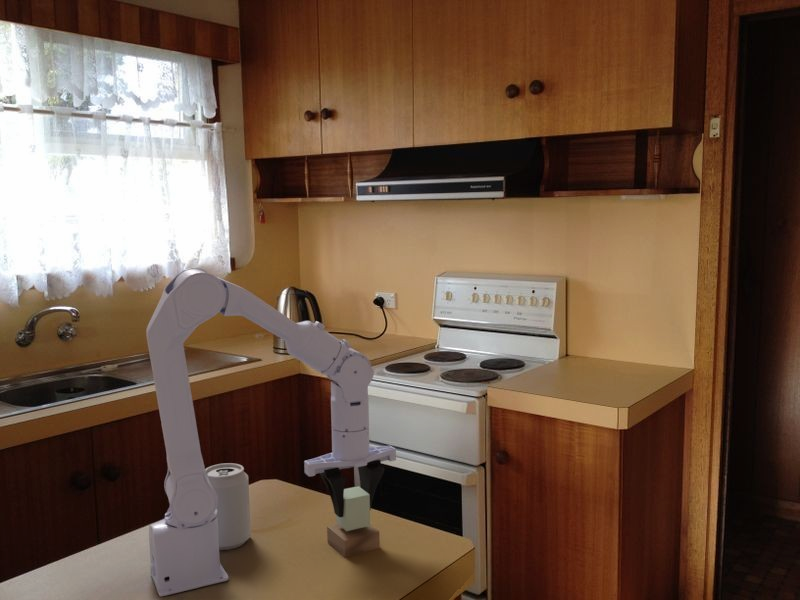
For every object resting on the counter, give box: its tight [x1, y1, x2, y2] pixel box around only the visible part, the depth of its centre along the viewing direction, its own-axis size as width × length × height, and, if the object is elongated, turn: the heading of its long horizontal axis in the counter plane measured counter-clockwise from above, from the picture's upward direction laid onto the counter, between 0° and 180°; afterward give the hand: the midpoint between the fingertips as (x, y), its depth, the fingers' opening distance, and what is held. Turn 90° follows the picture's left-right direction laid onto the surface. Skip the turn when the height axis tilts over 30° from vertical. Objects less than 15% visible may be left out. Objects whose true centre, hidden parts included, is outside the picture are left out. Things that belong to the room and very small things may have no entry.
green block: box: [335, 485, 371, 531], centre depth 116 cm, size 4×4×5 cm
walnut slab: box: [326, 523, 381, 559], centre depth 116 cm, size 6×6×3 cm
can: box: [205, 462, 252, 551], centre depth 118 cm, size 8×8×12 cm
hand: (352, 511), depth 116 cm, fingers closed on green block, 4 cm apart
